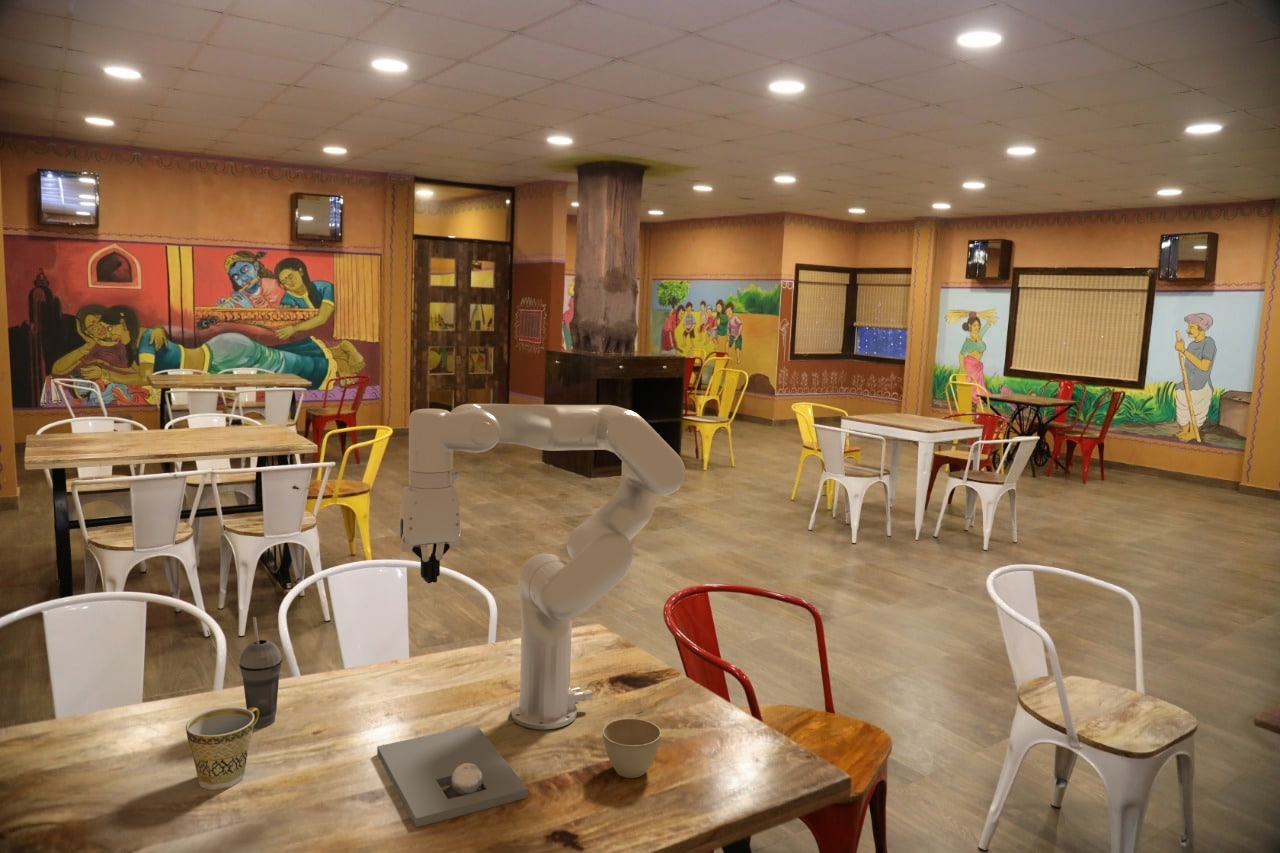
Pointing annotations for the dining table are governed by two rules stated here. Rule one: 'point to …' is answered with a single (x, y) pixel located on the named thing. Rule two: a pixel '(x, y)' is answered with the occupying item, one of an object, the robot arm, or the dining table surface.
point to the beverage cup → (261, 678)
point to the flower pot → (631, 745)
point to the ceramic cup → (221, 745)
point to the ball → (466, 779)
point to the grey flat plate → (448, 774)
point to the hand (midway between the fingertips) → (430, 580)
